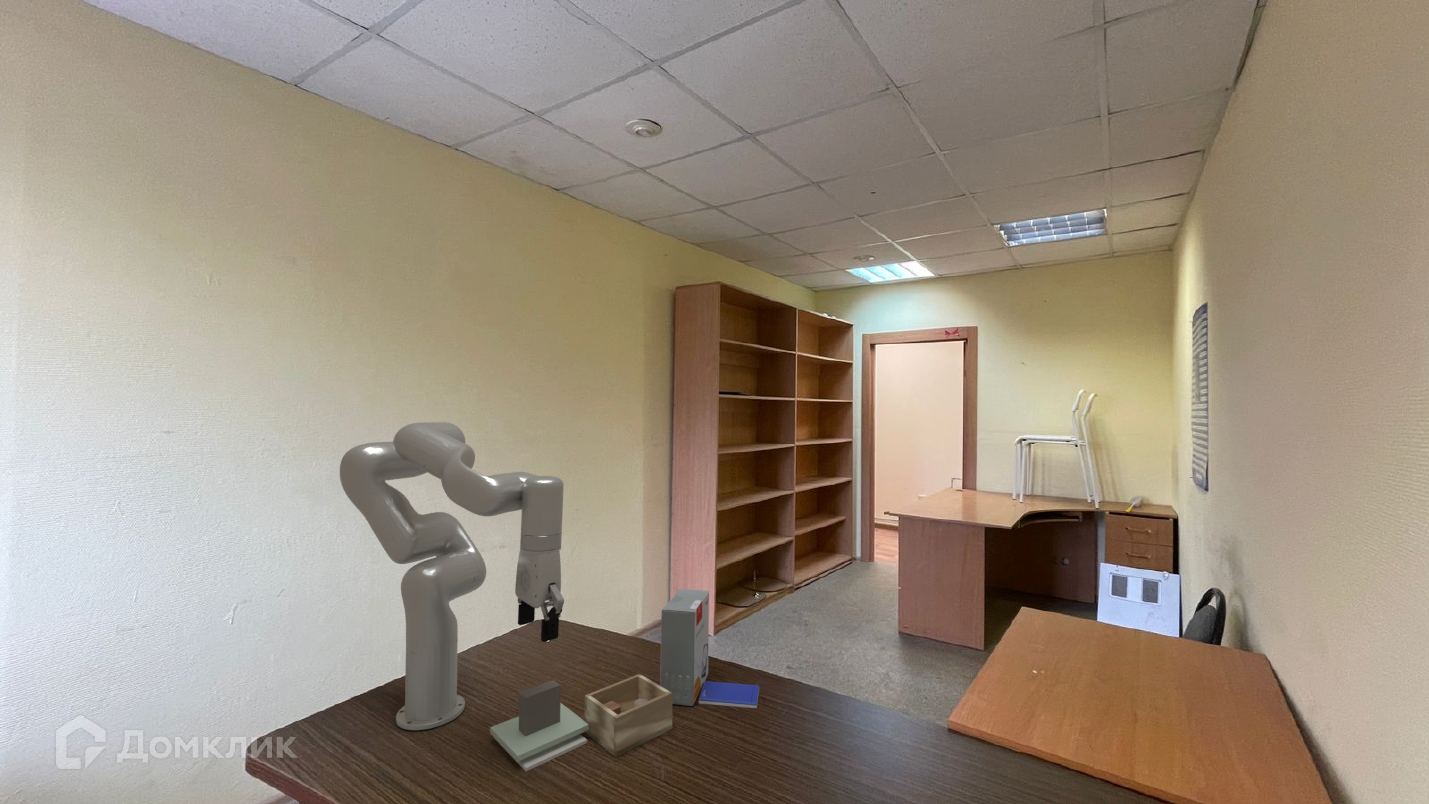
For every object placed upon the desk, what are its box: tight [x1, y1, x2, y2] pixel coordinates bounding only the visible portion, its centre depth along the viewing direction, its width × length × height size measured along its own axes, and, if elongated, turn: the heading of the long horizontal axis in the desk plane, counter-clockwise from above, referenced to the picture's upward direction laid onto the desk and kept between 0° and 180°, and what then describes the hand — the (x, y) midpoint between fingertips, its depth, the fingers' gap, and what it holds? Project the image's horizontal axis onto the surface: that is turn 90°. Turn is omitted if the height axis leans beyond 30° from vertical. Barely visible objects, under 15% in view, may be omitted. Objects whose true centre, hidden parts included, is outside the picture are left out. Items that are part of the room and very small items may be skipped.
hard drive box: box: [659, 588, 710, 707], centre depth 124 cm, size 16×8×20 cm, turn 168°
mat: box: [492, 733, 588, 772], centre depth 104 cm, size 14×12×1 cm
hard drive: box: [698, 680, 760, 709], centre depth 120 cm, size 2×8×12 cm
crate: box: [584, 673, 673, 758], centre depth 107 cm, size 11×13×7 cm
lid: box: [489, 679, 589, 763], centre depth 104 cm, size 12×14×9 cm
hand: (537, 631), depth 105 cm, fingers open, 9 cm apart
